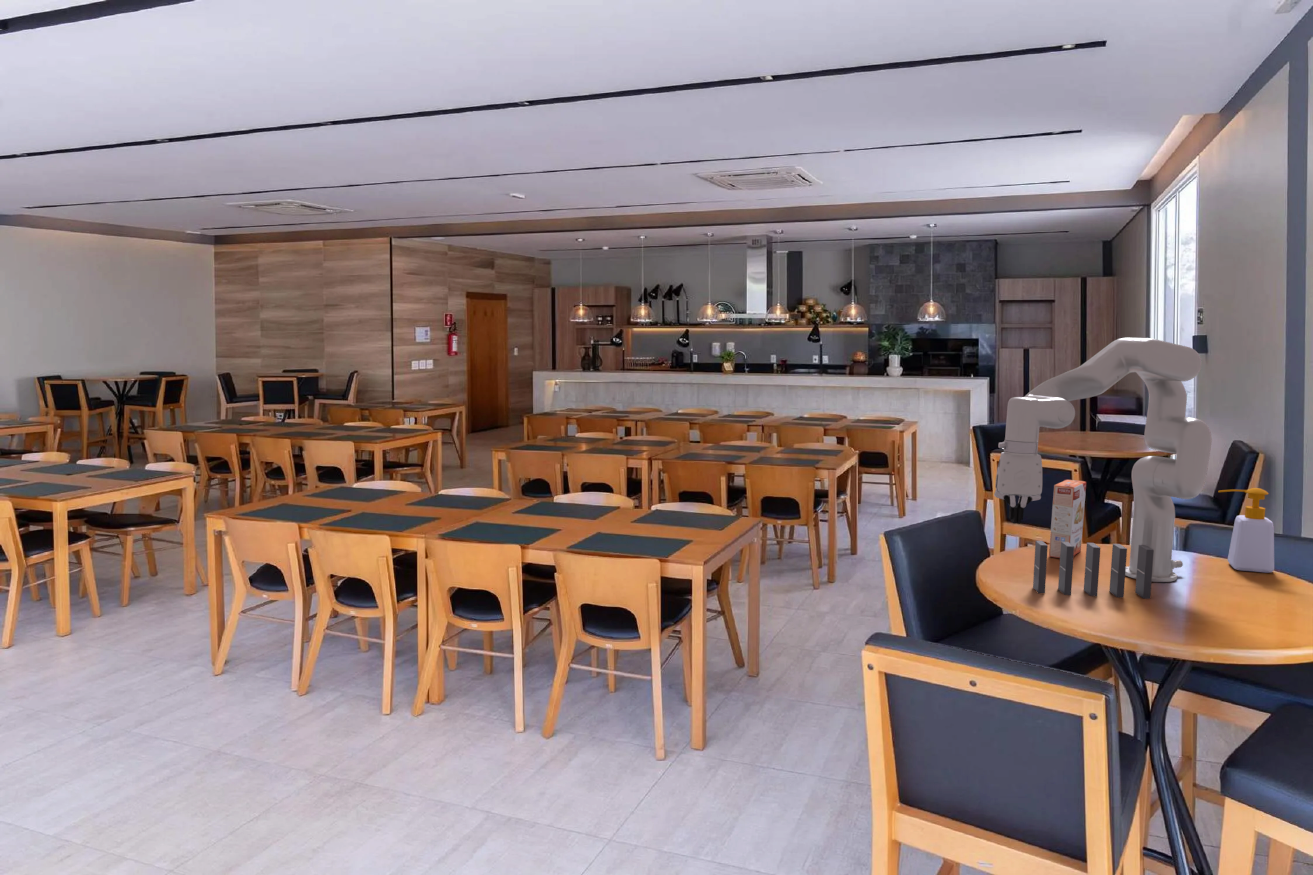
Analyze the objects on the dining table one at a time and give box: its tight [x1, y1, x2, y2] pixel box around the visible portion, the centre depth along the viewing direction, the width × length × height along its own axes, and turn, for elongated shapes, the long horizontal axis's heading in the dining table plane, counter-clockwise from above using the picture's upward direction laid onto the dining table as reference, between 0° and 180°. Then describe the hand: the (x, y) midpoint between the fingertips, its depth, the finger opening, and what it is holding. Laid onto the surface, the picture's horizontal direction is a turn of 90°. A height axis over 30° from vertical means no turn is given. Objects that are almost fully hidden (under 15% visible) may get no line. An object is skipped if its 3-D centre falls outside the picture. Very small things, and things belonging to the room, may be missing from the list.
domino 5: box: [1134, 545, 1154, 600], centre depth 221 cm, size 2×5×12 cm, turn 172°
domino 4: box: [1108, 543, 1128, 598], centre depth 222 cm, size 2×5×12 cm, turn 172°
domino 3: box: [1083, 542, 1101, 597], centre depth 223 cm, size 2×5×12 cm, turn 172°
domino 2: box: [1057, 542, 1075, 596], centre depth 224 cm, size 2×5×12 cm, turn 172°
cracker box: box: [1048, 479, 1087, 559], centre depth 262 cm, size 14×6×21 cm, turn 142°
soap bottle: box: [1218, 487, 1275, 574], centre depth 249 cm, size 10×14×22 cm
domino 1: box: [1032, 540, 1049, 594], centre depth 225 cm, size 2×5×12 cm, turn 171°
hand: (1015, 522), depth 224 cm, fingers closed
